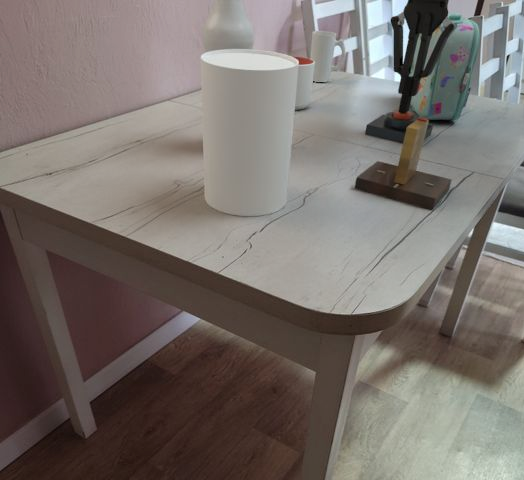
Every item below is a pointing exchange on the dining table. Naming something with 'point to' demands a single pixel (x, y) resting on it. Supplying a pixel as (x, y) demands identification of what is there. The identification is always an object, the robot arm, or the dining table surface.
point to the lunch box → (448, 72)
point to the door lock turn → (411, 150)
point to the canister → (247, 129)
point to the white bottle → (227, 27)
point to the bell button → (402, 115)
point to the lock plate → (413, 191)
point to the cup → (304, 82)
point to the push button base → (392, 128)
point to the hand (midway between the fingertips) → (403, 111)
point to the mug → (325, 54)
